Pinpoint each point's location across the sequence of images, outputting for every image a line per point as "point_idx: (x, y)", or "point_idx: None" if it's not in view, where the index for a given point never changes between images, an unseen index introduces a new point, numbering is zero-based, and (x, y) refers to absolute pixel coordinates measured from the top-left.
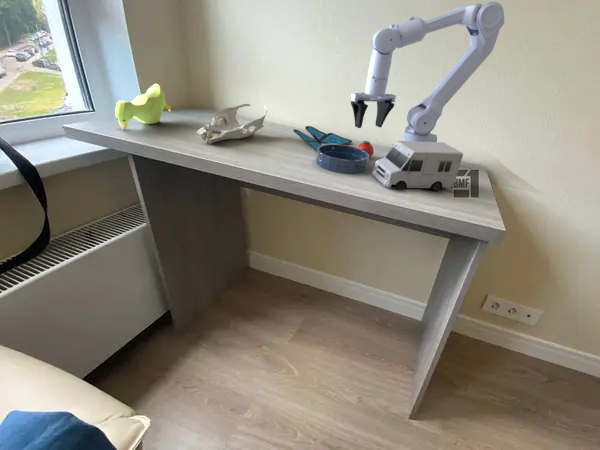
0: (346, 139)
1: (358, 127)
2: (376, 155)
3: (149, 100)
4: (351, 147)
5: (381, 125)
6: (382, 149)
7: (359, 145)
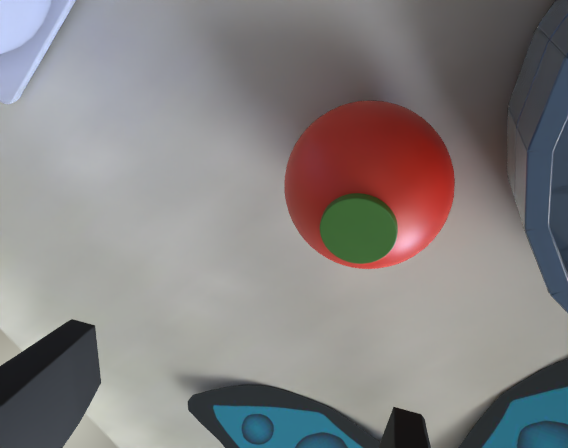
0: (217, 428)
1: (425, 426)
2: (187, 168)
3: None
4: (556, 247)
5: (64, 334)
6: (50, 236)
7: (422, 244)
